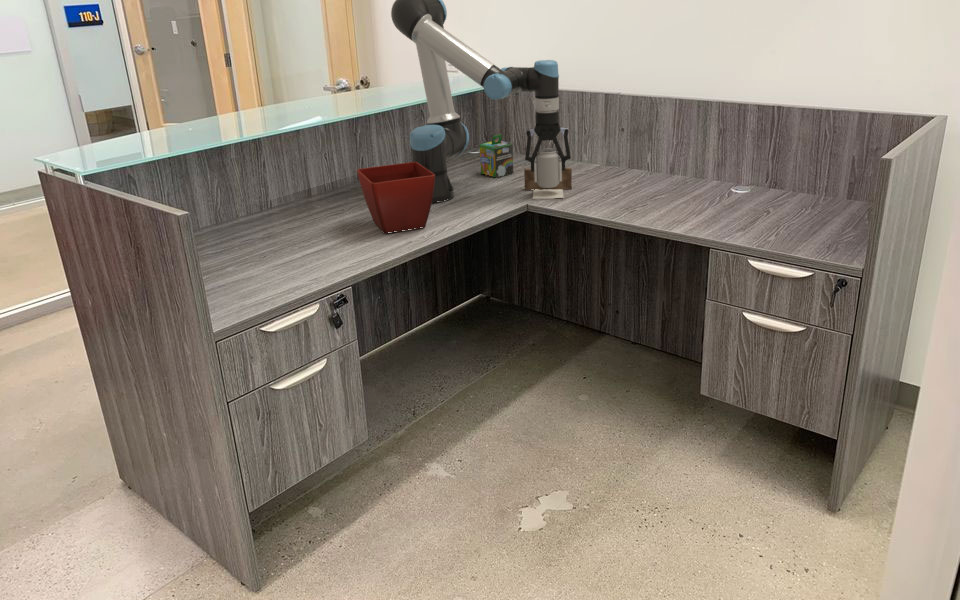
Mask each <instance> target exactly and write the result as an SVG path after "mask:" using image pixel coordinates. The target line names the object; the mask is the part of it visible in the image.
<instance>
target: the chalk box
mask: <svg viewBox="0 0 960 600" xmlns="http://www.w3.org/2000/svg"><path fill="white" fill-rule="evenodd" d="M497 138H498V139H497ZM502 138H503V134H502V133H500V134H496V135H493V136H492V139H491V141H488V142H485V143H481V144H479V159H480V175H482V174H485V175H484V176H487V175H489V176H488V177H490V176H493V177H492V178H494V177H498V178H500V176H501V177H505V176H504V175H506V176H508V175H507V174H510V175H513V174H514V143H512V142H509V141H502ZM512 173H513V174H512Z"/></svg>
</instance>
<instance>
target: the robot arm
mask: <svg viewBox="0 0 960 600" xmlns="http://www.w3.org/2000/svg"><path fill="white" fill-rule="evenodd" d="M390 11H391V12H390V14H391V15H390V17H391V21H392V23H393V26H394V27H395V28H396V30H398V31H399V32H400V33H401V34H402V35H403V36H404V37H406V38H408V39H409V40H410V41H412V42H413V43H414V44H415V45H416V50H417V56H418V60H419V61H418V62H419V66H420V72H421V76H422V82H423V87H424V93H425V98H426V102H427V108H428V113H429V117H428V119H427V121H426V124H425V125H423V126H418V127H415V128H414V129H412V131H411V132H410V134H409V148H410V158H411V159H410V160H411V162H417V163H419V164H420V165H422V166H423V167H425V168H426V169H428V170H429V171H431V172H432V173H434V174H435V182H434V191H433V197H432V202H437V201H444V200H447V199H450V198H452V197H453V196H455V191H454V188H453V185H452V183H451V179H450V177H449V175H448V164H447V163H448V162H447V161H448V160H450V159H453V158H456V157H457V156H459V155H460V154H462V153H463V152H464V151H466V149H467V148H468V145H469V143H470V133H469V130H468V128H467V126H466V125H465V124H463V123H462V121H461V116H460V115H459V114H458V113H457V112H456V111H455V106H454V101H453V96H452V90H451V85H450V80H449V74H448V69H447V63H448V64H449V65H452V67H454V68H455V69H457V70H458V71H460V72H461V73H462V74H464V75H465V76H467V77H468V78H469V79H471V80H472V81H473V82H475V83H476V84H478V85H479V86H480V87H481V88H483V91H484V94H485V96H487V97H488V98H490V99H491V100H494V101H495V100H503V99H505V98H507V97H509V96H512V95H514V94H518V93H520V92H521V93H523V92H524V93H526V92H527V93H529V92H530V93H533V92H534V109H535V111H536V112H535V126H534V128H532V129H526V137H527V139H526V140H527V141H526V148H525V157H524V160H525V161H526V162H527V161H528V162H530V169H531V172H534V173H535V182H537V162H536V155H537V154H538V153H539V152H538V151H539V150H540V149H541V148H540V147H541V145H542V142H543V141H544V142H545V141H552V142H553V143H554V146H555V149H557V153H558V154H559V181H560V182H561V181H562V171H565V168H566V161H567V160H570V159H572V158H571V157H572V156H571V151H570V143H569V137H568V135H569V128H568V127H565V128H564V127H561V125H560V117H559V116H560V112H559V109H560V101H559V99H560V96H559V90H560V89H559V85H560V83H559V79H560V74H559V64H558V62H557V61H556V60H553V59H546V60H545V59H541V60H536V61H535V62H534V66H532V67H531V66H530V67H527V66H526V67H520V66H519V67H517V66H516V67H515V66H507V67H502V68H500V67H498V66H496V65H495V64H494V63H492V62H491V61H490V60H488V59H487V58H486V57H484V56H482V55H481V54H480V53H479V52H477V51H476V50H474V49H473V48H471V47H470V46H469V45H467V44H466V43H464V42H463V40H460V39H459V38H457V37H456V36H455V35H453V34H452V33H451V32H449V31H448V30H447V29H445V27H444V24H445V22H446V20H447V17H448V16H447V15H448V12H447V7H446V5H445V2H444V1H443V0H395V1H394V2H393V4H392V7H391V10H390ZM534 133H535V134H536V135H537V137H538V138H537V140H536V141H537V142H536V144H535V147H534V150H533V152H532V155H531V156H530V152H531V143H532V137H533V136H534ZM559 133H561V135H563V141H564V148H565V154H566V155H565V154H564V152H563V149H562V147H561V145H560V143H559V140H558V138H557V136H558V135H559ZM453 198H454V197H453ZM453 198H452V199H453ZM450 200H451V199H450ZM447 201H448V200H447ZM444 202H445V201H444Z"/></svg>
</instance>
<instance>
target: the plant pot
mask: <svg viewBox="0 0 960 600" xmlns="http://www.w3.org/2000/svg"><path fill="white" fill-rule="evenodd" d="M356 173H357V177H358V181H359V184H360V187H361V192H362V194H363V197H364V201H365V203H366V206H367V208H368V211H369V213H370V216H371V218H372V220H373V222H375V223H374V224H375V225H376V226H377V227H378V228H379V230H380V231H381V230H382V231H383V232H384V233H388V232H394V231H402V230H408V229H414V228H420V227H425V228H426V226H427V222H428V219H429V216H430V212H431V207H432V204H433V203H432V197H433V191H434V182H435V174H434V173H432V172H431V171H429V170H428V169H426V168H425V167H423V166H422V165H420V164H419V163H417V162H412V161H409V162H405V163H396V164H395V163H394V164H387V165H380V166H372V167H370V166H369V167H365V168H363V167H362V168H357V169H356ZM383 232H382V233H383ZM384 233H383V234H384Z"/></svg>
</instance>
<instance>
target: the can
mask: <svg viewBox="0 0 960 600" xmlns="http://www.w3.org/2000/svg"><path fill="white" fill-rule="evenodd" d="M559 160H560V156H559V153H558V151H557V149H556V148H548V147H547V148H539V150H538V153H537V155H536V158H535V161H536V162H537V184H538V185H539V186H540V187H542V188H553V187H556V186H557V185H558V184H559V183H560V181H559Z"/></svg>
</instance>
